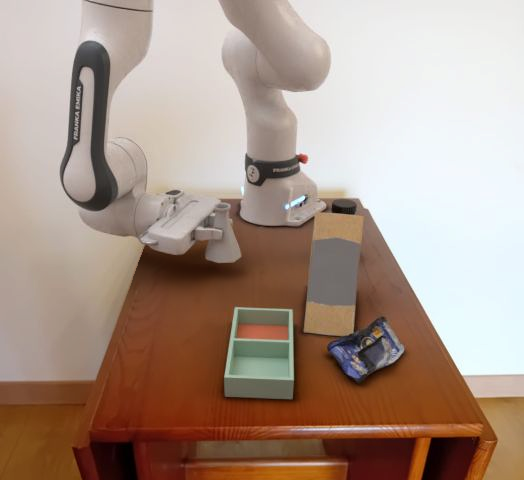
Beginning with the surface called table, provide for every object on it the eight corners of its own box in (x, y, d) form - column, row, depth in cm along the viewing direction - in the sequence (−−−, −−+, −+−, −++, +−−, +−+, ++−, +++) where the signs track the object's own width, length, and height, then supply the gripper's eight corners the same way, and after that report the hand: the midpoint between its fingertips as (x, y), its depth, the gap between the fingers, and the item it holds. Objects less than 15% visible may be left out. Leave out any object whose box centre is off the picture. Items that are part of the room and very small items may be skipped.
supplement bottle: (328, 268, 108) (335, 210, 101) (315, 254, 113) (320, 198, 106) (359, 264, 110) (368, 207, 103) (345, 250, 115) (352, 195, 108)
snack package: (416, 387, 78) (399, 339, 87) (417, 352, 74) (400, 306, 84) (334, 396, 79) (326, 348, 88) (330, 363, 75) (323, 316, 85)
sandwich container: (301, 333, 89) (308, 249, 80) (308, 288, 101) (314, 211, 92) (354, 337, 88) (366, 253, 79) (354, 291, 100) (364, 214, 91)
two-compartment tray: (234, 324, 90) (234, 307, 88) (291, 327, 90) (292, 309, 88) (224, 396, 75) (224, 377, 73) (292, 399, 75) (293, 380, 73)
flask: (236, 266, 100) (236, 215, 94) (199, 262, 101) (196, 211, 95) (245, 249, 106) (245, 200, 100) (210, 245, 107) (208, 196, 101)
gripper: (130, 224, 93) (204, 235, 90) (180, 185, 109) (244, 194, 106) (135, 257, 97) (206, 269, 94) (182, 215, 113) (244, 224, 110)
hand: (227, 229), depth 100 cm, fingers closed on flask, 3 cm apart
